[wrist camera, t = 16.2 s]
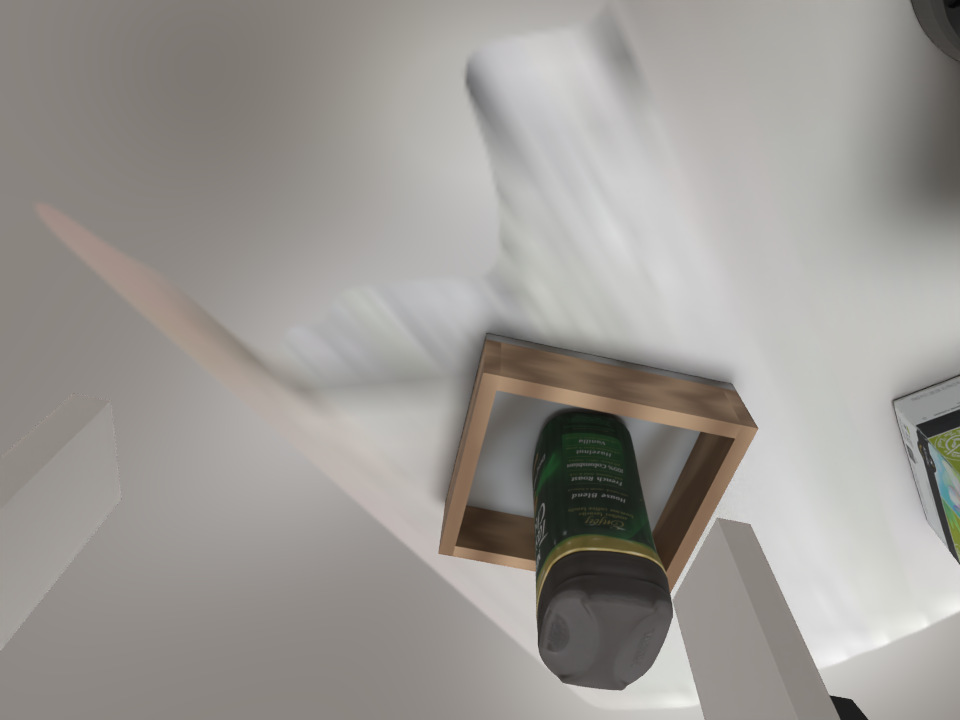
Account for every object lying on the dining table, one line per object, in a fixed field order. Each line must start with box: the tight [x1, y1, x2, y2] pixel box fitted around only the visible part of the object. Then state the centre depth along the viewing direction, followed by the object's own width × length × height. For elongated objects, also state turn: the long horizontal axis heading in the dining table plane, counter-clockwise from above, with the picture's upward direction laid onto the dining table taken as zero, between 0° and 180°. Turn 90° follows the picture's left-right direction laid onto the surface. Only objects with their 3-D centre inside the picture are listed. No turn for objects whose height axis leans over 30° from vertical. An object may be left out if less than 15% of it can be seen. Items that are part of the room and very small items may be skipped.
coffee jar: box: [532, 413, 673, 690], centre depth 44 cm, size 10×8×19 cm
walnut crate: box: [439, 333, 758, 593], centre depth 51 cm, size 20×18×6 cm
